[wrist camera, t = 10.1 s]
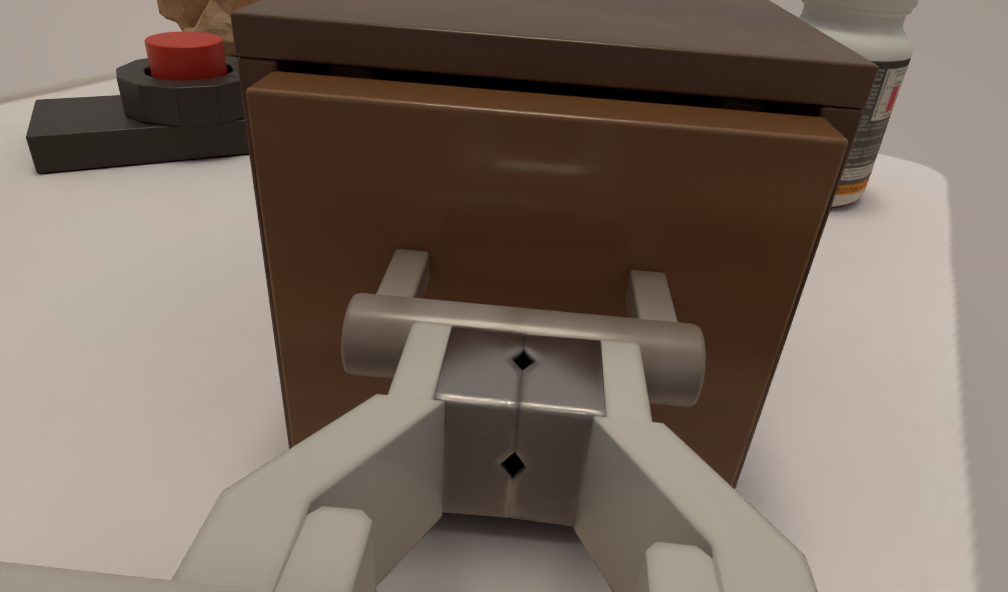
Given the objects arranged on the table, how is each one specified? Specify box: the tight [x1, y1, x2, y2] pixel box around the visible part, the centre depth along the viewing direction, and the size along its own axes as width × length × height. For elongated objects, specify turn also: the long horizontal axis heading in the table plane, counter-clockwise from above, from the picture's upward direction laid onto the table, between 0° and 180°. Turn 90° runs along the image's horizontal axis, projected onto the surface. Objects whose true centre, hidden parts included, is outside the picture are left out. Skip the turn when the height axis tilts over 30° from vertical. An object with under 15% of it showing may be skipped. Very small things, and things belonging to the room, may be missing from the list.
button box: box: [26, 56, 249, 173], centre depth 33 cm, size 10×6×4 cm, turn 116°
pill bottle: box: [798, 0, 918, 206], centre depth 32 cm, size 6×6×10 cm
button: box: [145, 32, 227, 81], centre depth 33 cm, size 3×3×2 cm
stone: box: [157, 0, 261, 58], centre depth 50 cm, size 18×10×15 cm
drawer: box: [246, 64, 848, 487], centre depth 15 cm, size 12×9×9 cm
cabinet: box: [230, 0, 879, 489], centre depth 18 cm, size 10×10×10 cm
